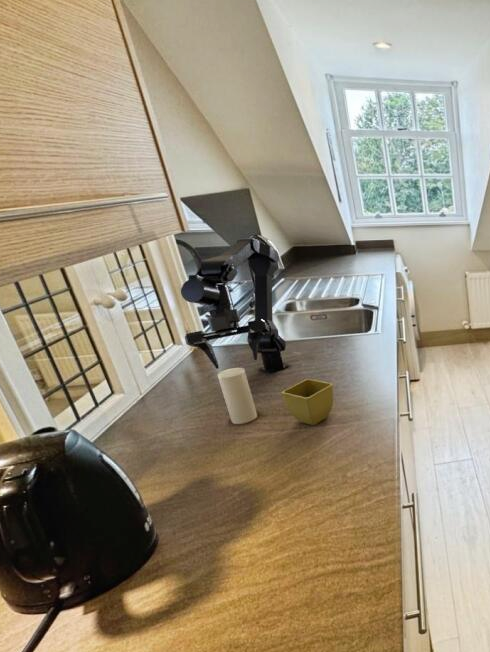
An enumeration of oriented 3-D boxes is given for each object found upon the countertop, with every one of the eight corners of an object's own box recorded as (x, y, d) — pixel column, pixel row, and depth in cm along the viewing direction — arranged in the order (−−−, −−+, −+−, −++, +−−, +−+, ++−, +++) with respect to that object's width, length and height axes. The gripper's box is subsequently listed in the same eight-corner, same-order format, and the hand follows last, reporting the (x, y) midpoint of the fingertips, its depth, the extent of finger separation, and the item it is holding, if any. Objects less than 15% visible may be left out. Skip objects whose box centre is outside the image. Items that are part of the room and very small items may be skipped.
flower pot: (339, 414, 117) (333, 383, 114) (314, 431, 110) (307, 398, 106) (314, 408, 121) (307, 378, 117) (288, 424, 113) (280, 392, 110)
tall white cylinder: (227, 420, 117) (212, 374, 111) (249, 410, 121) (237, 365, 116) (238, 426, 113) (224, 379, 108) (261, 416, 118) (249, 370, 113)
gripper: (170, 308, 109) (187, 370, 109) (254, 293, 115) (270, 352, 115) (185, 316, 120) (200, 373, 120) (261, 302, 126) (276, 357, 126)
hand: (236, 364), depth 120 cm, fingers open, 9 cm apart
